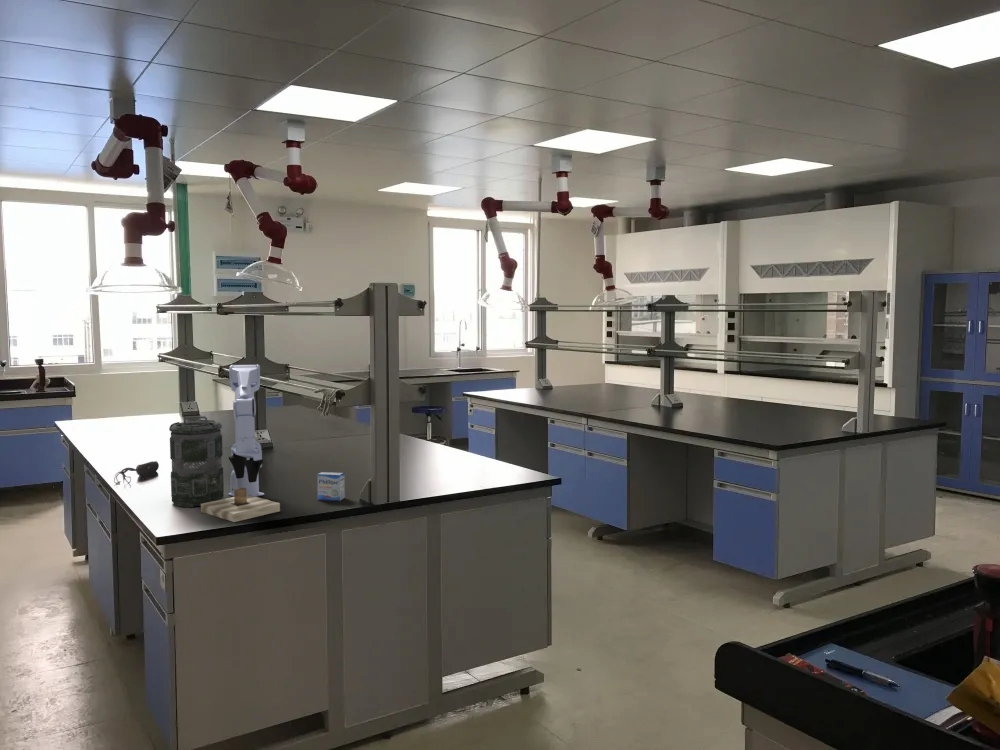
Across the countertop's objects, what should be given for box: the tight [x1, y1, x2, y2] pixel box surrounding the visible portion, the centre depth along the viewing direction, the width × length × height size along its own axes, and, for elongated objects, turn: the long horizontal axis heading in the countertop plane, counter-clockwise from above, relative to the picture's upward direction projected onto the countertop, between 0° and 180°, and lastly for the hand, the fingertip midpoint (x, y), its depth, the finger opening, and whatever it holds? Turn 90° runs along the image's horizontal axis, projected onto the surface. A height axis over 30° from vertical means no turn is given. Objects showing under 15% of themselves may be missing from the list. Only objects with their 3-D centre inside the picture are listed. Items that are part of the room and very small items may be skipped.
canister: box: [168, 415, 225, 508], centre depth 251 cm, size 16×16×28 cm
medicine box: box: [317, 471, 346, 502], centre depth 256 cm, size 8×4×9 cm, turn 81°
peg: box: [233, 488, 247, 506], centre depth 240 cm, size 4×4×7 cm
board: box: [200, 495, 281, 523], centre depth 240 cm, size 18×16×2 cm
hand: (246, 480), depth 242 cm, fingers open, 7 cm apart
